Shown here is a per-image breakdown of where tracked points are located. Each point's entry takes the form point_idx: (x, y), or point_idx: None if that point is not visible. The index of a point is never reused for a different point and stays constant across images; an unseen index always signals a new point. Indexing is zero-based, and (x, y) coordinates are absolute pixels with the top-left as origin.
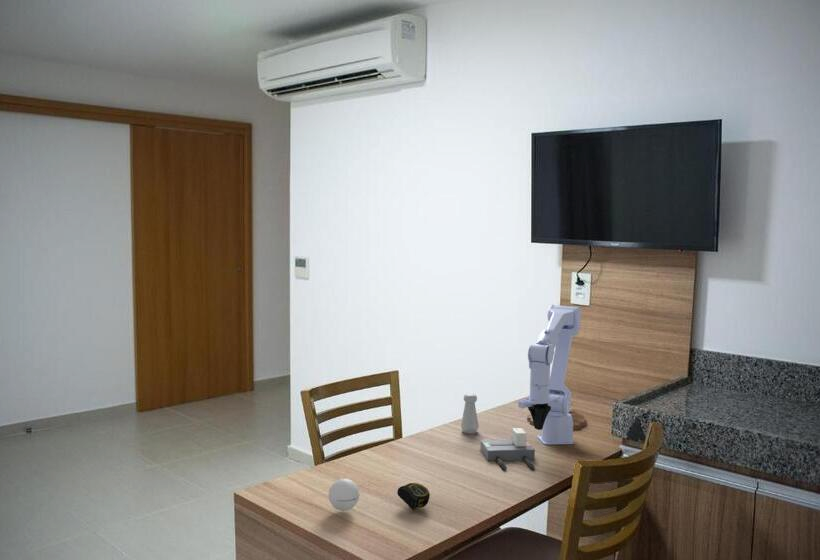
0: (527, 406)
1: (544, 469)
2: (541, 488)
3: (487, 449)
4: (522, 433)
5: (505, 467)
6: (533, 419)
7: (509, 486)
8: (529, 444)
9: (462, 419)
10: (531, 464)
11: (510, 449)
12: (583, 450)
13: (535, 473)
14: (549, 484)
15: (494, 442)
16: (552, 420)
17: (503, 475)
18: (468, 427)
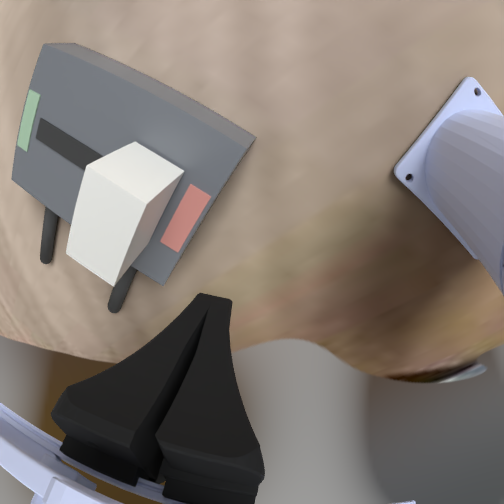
0: (25, 427)
1: (150, 322)
2: (85, 356)
3: (13, 168)
4: (94, 272)
5: (44, 263)
6: (164, 337)
7: (36, 312)
8: (187, 232)
9: None
10: (111, 306)
11: None
12: (427, 313)
13: (111, 319)
14: (108, 360)
15: (64, 103)
16: (486, 261)
17: (39, 273)
18: None
